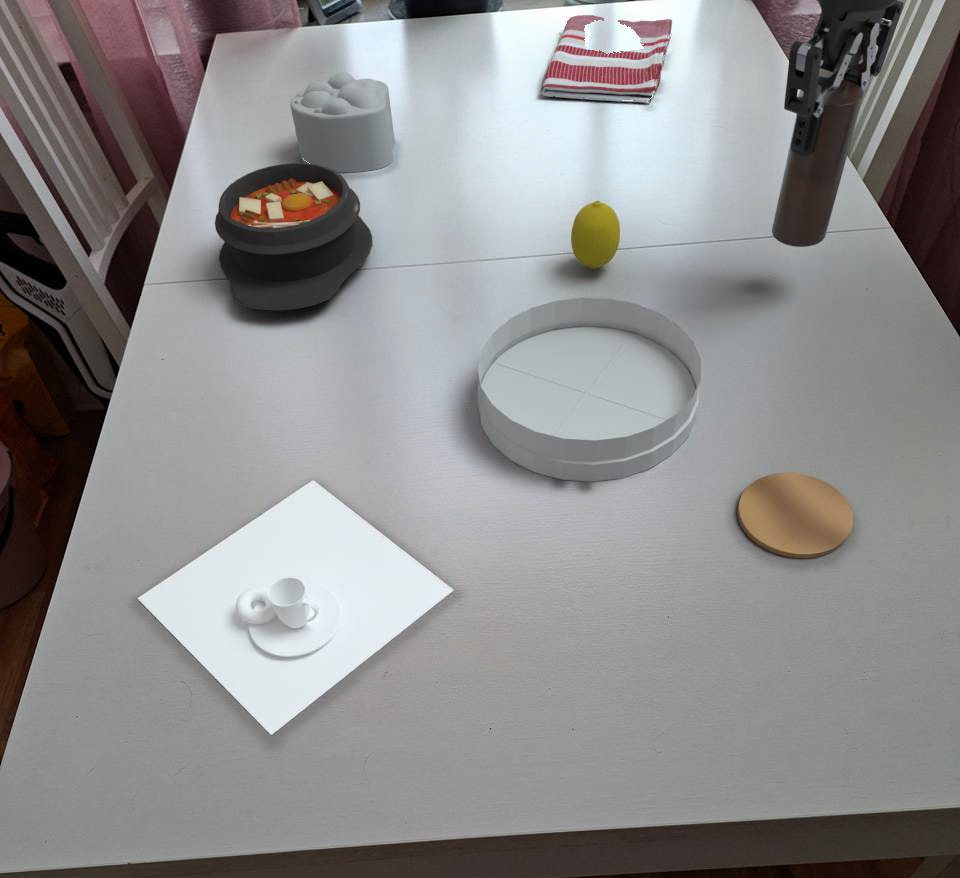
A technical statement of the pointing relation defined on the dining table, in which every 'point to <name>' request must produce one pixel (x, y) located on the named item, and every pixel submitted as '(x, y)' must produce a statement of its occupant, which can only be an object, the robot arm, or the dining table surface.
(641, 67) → the dish towel
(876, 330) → the dining table surface
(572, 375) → the dish
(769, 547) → the coaster
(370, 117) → the lumpy-topped squat cylinder
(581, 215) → the lemon
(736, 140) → the dining table surface
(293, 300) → the casserole
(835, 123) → the brown cylinder
